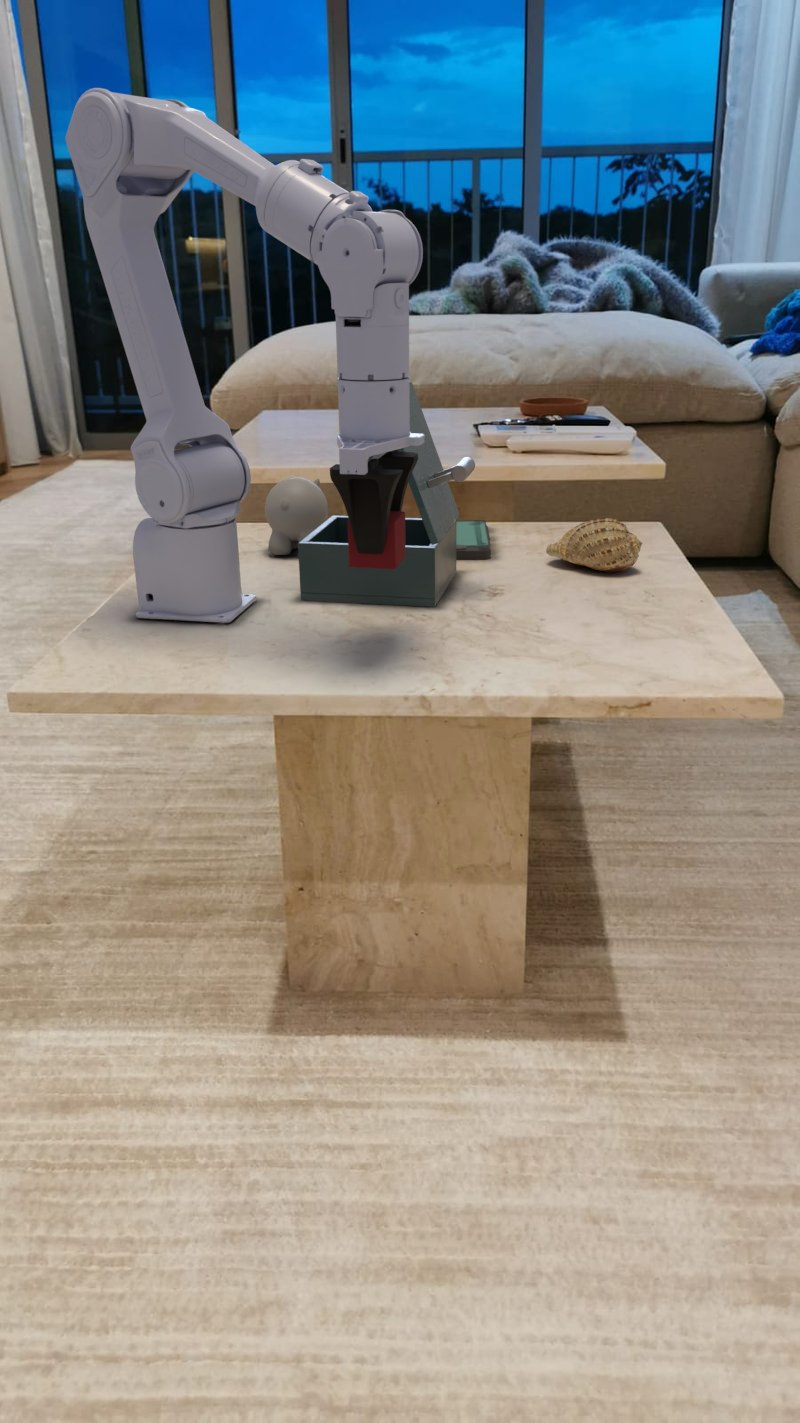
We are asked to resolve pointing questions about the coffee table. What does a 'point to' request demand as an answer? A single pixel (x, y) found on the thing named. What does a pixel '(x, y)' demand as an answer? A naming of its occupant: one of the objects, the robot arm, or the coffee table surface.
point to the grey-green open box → (405, 585)
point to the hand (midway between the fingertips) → (376, 546)
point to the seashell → (598, 545)
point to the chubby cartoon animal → (294, 512)
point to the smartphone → (472, 540)
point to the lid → (433, 477)
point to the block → (392, 549)
